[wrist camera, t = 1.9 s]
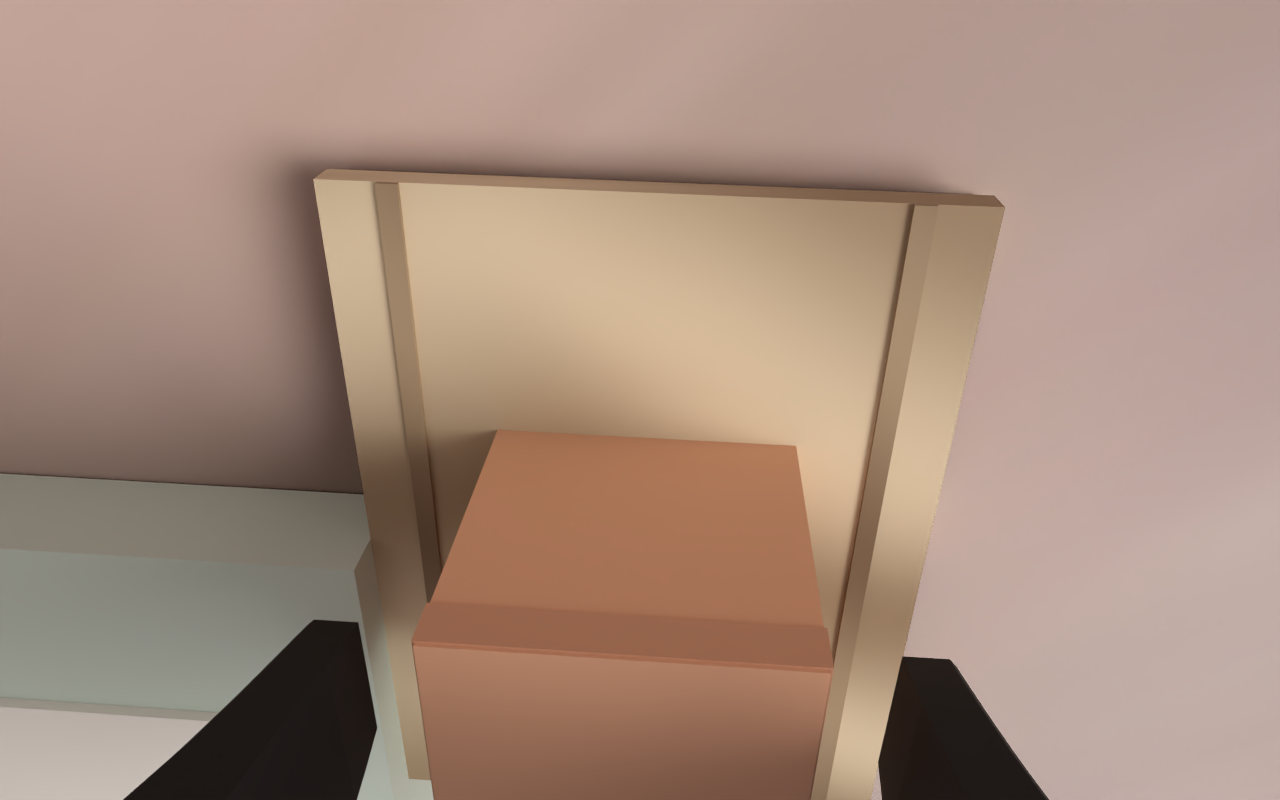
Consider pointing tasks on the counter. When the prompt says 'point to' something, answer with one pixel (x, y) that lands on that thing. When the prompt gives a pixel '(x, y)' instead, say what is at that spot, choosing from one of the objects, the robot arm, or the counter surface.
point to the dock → (167, 622)
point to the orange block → (626, 626)
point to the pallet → (663, 372)
